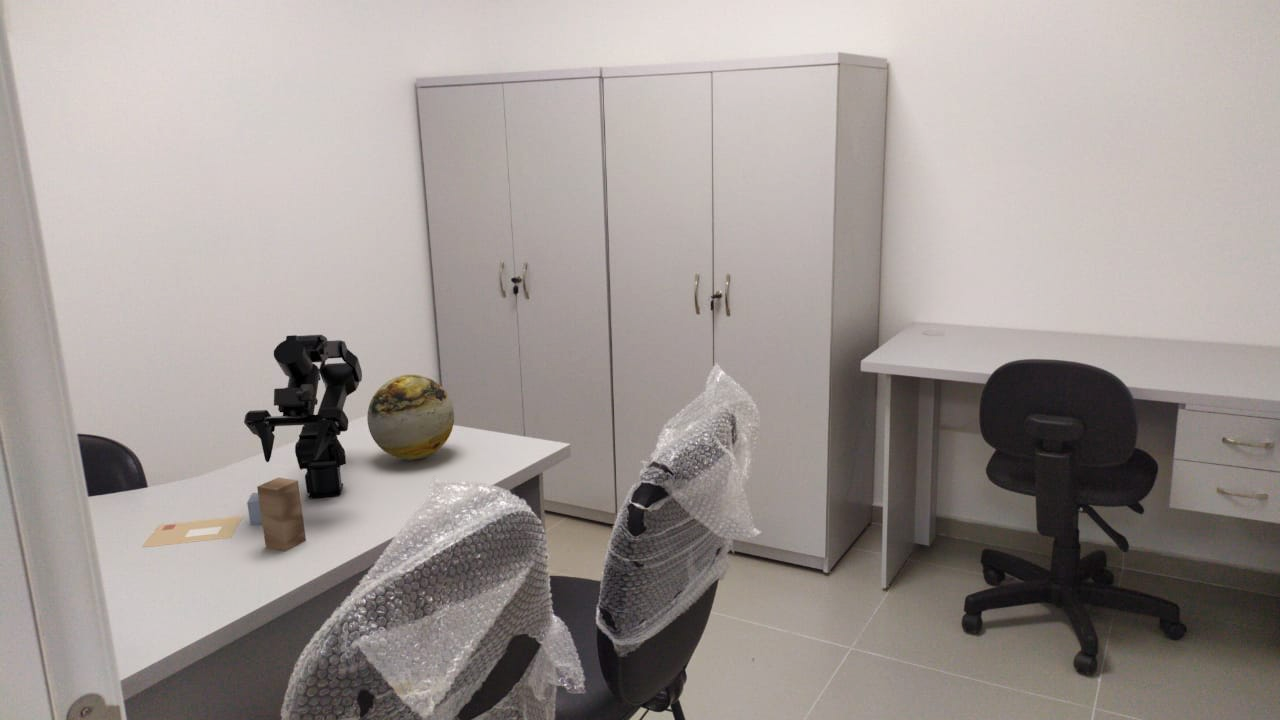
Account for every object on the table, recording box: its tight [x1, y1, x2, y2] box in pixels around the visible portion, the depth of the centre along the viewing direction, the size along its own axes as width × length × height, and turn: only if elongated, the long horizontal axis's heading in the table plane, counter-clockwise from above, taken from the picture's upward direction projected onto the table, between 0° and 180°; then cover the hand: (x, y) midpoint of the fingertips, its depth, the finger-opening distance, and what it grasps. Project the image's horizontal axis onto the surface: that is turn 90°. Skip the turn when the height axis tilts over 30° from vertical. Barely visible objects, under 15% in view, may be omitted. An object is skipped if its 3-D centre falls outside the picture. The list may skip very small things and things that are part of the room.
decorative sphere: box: [367, 374, 455, 461], centre depth 216 cm, size 20×20×20 cm
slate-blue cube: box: [246, 492, 263, 526], centre depth 184 cm, size 5×5×5 cm
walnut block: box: [256, 476, 307, 552], centre depth 171 cm, size 5×5×12 cm
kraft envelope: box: [141, 515, 244, 548], centre depth 180 cm, size 16×11×1 cm
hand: (291, 460), depth 178 cm, fingers open, 9 cm apart
